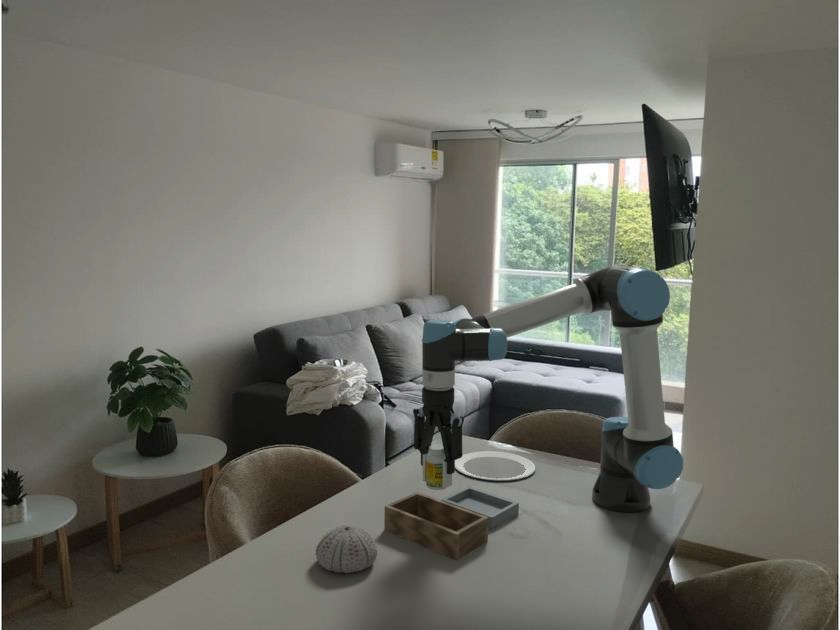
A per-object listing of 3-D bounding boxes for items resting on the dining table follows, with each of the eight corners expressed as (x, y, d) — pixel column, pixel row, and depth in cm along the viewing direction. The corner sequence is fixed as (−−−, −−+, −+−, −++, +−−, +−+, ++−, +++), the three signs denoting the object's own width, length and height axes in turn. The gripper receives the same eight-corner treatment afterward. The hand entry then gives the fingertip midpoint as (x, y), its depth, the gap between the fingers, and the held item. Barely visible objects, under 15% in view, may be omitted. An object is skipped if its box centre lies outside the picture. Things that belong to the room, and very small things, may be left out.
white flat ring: (548, 464, 211) (548, 460, 211) (514, 490, 190) (514, 486, 190) (477, 449, 224) (477, 445, 224) (438, 471, 204) (438, 467, 203)
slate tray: (518, 513, 174) (518, 502, 173) (491, 529, 165) (492, 517, 164) (468, 496, 184) (468, 486, 184) (440, 510, 175) (441, 499, 175)
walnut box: (487, 541, 158) (488, 517, 158) (456, 560, 149) (456, 534, 149) (416, 514, 173) (417, 491, 172) (384, 529, 164) (384, 506, 163)
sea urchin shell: (304, 559, 149) (304, 525, 148) (357, 543, 157) (357, 510, 156) (335, 585, 138) (335, 548, 137) (389, 566, 146) (390, 531, 145)
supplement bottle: (440, 480, 163) (440, 441, 162) (453, 487, 159) (453, 448, 157) (421, 484, 160) (421, 445, 159) (434, 492, 156) (434, 452, 154)
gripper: (398, 383, 159) (397, 477, 162) (460, 396, 147) (458, 498, 150) (418, 377, 165) (418, 469, 168) (480, 390, 153) (478, 488, 156)
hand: (437, 482), depth 159 cm, fingers closed on supplement bottle, 5 cm apart
